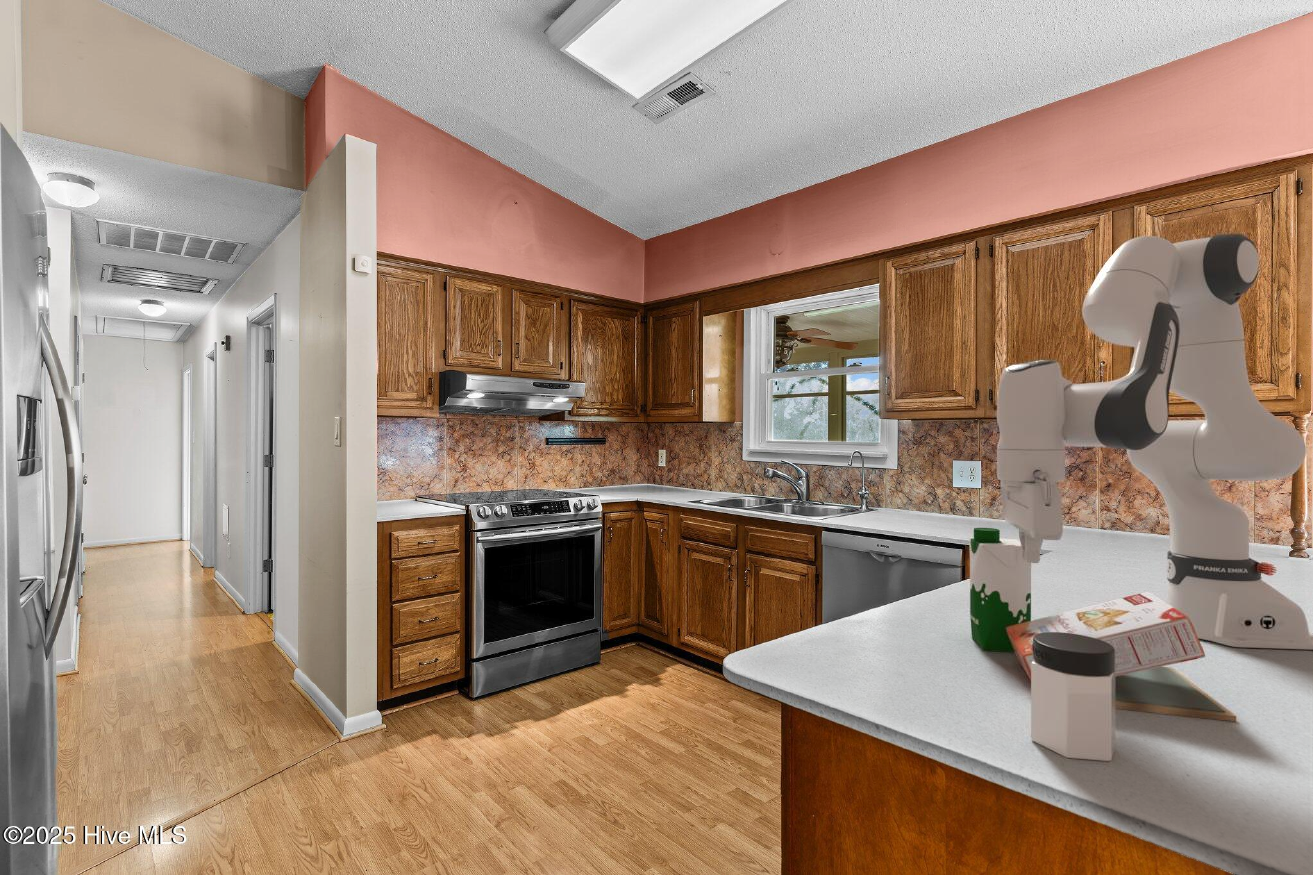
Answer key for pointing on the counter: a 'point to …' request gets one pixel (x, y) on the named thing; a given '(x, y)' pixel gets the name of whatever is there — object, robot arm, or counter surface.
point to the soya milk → (997, 588)
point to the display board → (1166, 695)
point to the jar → (1073, 695)
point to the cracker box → (1120, 632)
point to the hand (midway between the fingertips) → (1030, 561)
